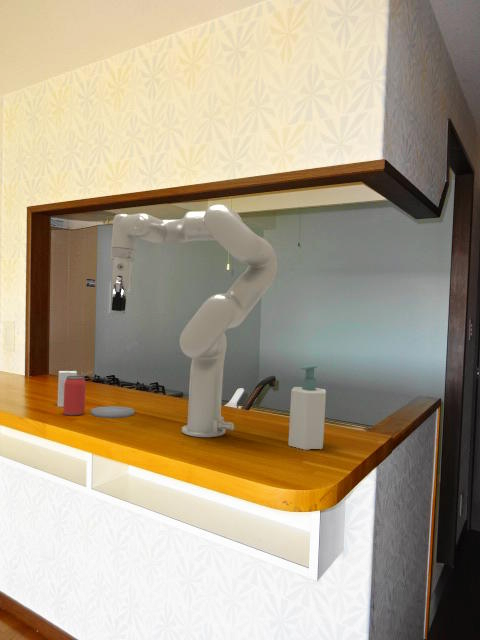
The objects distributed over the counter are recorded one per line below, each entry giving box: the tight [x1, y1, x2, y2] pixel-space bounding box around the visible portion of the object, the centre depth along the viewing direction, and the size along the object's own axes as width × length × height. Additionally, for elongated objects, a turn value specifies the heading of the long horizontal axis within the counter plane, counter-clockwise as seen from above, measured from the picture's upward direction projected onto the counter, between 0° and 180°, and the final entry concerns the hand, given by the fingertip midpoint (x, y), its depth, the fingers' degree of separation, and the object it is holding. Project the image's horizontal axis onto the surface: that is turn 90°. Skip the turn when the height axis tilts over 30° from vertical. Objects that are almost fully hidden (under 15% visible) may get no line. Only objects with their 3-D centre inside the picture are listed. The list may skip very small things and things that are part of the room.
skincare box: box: [57, 370, 78, 408], centre depth 172 cm, size 6×4×12 cm
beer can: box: [62, 375, 87, 417], centre depth 160 cm, size 7×7×12 cm
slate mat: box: [90, 405, 135, 419], centre depth 164 cm, size 14×14×1 cm
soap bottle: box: [287, 364, 327, 451], centre depth 135 cm, size 10×9×22 cm
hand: (118, 310), depth 153 cm, fingers open, 9 cm apart
